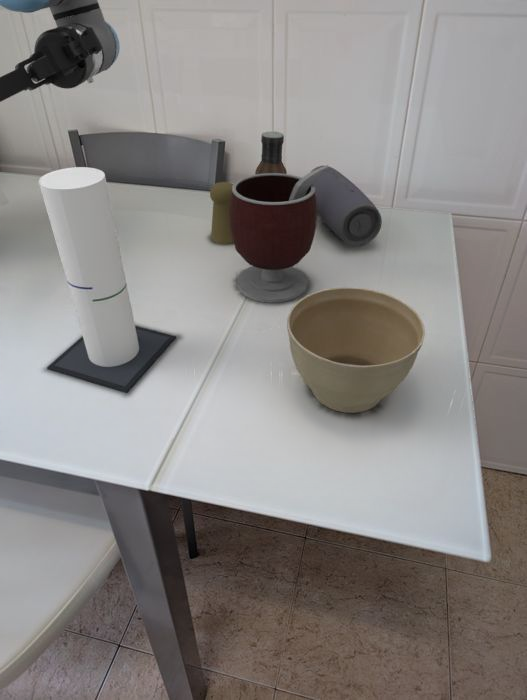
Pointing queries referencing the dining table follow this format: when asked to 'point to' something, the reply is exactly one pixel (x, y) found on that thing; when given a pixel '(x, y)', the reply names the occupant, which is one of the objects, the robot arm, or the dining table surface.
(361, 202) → the bluetooth speaker
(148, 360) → the charcoal mat
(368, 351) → the planter bowl
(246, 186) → the mate gourd
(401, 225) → the dining table surface
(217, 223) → the olive pepper mill
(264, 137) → the sauce bottle
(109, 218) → the cylindrical container
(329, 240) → the dining table surface
